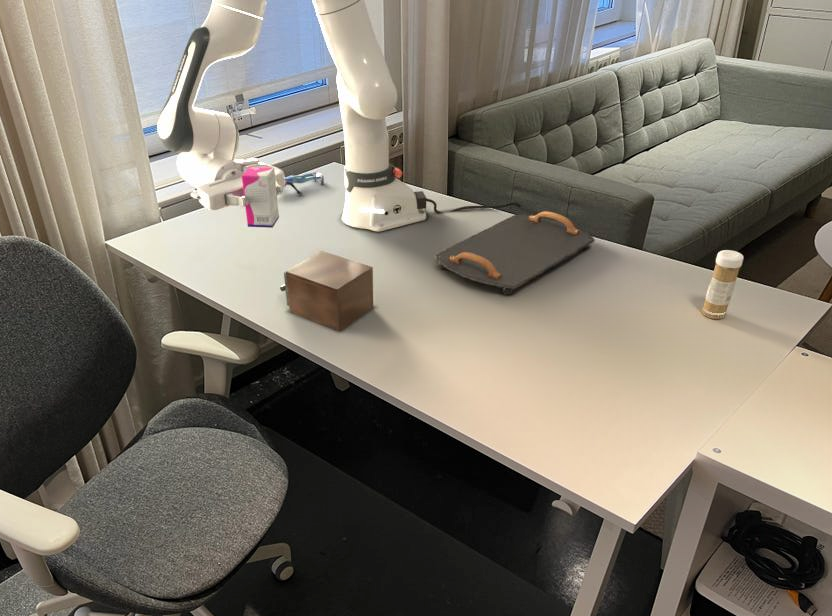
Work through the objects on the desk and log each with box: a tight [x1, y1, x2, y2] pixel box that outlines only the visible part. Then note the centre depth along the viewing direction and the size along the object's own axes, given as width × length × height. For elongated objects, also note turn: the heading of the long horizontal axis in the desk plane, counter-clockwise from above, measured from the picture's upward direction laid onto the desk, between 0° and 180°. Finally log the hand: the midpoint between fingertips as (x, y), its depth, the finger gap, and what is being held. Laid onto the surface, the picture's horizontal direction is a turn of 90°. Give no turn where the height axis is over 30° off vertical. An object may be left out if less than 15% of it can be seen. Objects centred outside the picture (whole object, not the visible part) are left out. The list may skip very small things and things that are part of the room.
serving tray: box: [434, 210, 596, 296], centre depth 165 cm, size 39×23×6 cm, turn 134°
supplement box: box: [242, 166, 280, 229], centre depth 151 cm, size 6×6×12 cm
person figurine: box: [284, 172, 325, 196], centre depth 207 cm, size 11×4×18 cm
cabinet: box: [285, 250, 374, 332], centre depth 147 cm, size 14×12×10 cm
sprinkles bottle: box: [701, 249, 745, 320], centre depth 140 cm, size 5×5×13 cm
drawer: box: [279, 271, 289, 307], centre depth 149 cm, size 16×10×8 cm, turn 52°
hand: (263, 196), depth 150 cm, fingers closed on supplement box, 8 cm apart
